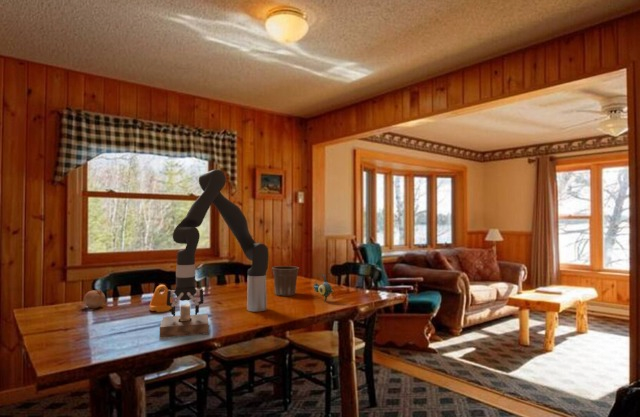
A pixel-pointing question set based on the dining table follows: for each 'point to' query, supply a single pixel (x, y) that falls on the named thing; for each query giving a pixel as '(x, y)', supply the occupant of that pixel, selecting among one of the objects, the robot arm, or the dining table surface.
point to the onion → (94, 299)
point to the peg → (185, 313)
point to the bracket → (160, 300)
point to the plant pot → (285, 280)
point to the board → (184, 326)
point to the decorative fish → (323, 288)
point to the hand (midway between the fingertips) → (185, 314)
